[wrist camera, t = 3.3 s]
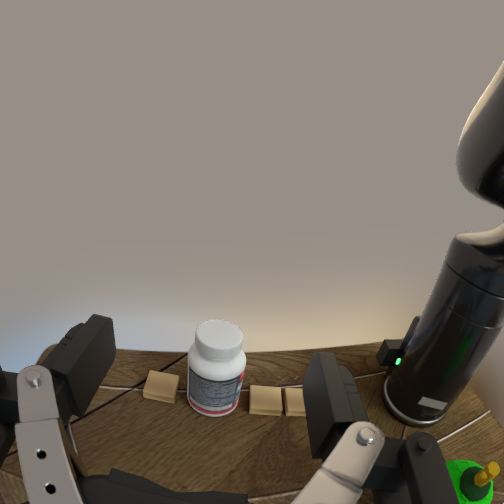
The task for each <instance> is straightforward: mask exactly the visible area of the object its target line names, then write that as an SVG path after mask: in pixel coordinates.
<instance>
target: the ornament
mask: <svg viewBox="0 0 504 504" xmlns="http://www.w3.org/2000/svg"><path fill="white" fill-rule="evenodd" d="M445 463H446V465H447V468H448V471H449V474H450V476H451V479H452V482H453V485H454V488H455V491H456V494H457V497H458V500H459V503H460V504H490V501H492V498H493V482H492V479H493V478H495V477H496V476H497V475H498V473H499V471H500V468H499V465H498V463H495V462H490V463H489V464H488V465H487V466H486V467H485V468H484V467H481V466H480V465H478V464H477V463H476V462H473V461H467V460H455V461H449V462H445Z"/></svg>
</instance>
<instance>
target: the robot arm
mask: <svg viewBox="0 0 504 504" xmlns="http://www.w3.org/2000/svg"><path fill="white" fill-rule="evenodd" d="M456 167H457V173H458V176H459V180H460V182H461V183H462V185H463V187H464V188H465V189H466V190H467V191H468V192H470V193H471V194H472V195H474V196H475V197H477V198H479V199H481V200H482V201H484V202H487V203H489V204H491V205H494V206H496V207H498V208H500V209H503V210H504V62H503V63H502V65H501V66H500V68H499V70H498V71H497V73H496V75H495V76H494V78H493V79H492V81H491V83H490V84H489V86H488V87H487V89H486V90H485V92H484V93H483V95H482V96H481V98H480V99H479V101H478V102H477V104H476V106H475V107H474V109H473V110H472V112H471V114H470V116H469V118H468V120H467V122H466V124H465V126H464V129H463V131H462V134H461V137H460V141H459V144H458V149H457V156H456ZM503 326H504V221H503V222H502V223H501V224H500V225H499V226H497V227H495V228H492V229H490V230H486V231H480V232H462V233H458V234H456V235H455V236H454V237H453V239H452V241H451V243H450V245H449V248H448V251H447V254H446V256H445V260H444V263H443V265H442V268H441V270H440V273H439V276H438V279H437V281H436V283H435V286H434V288H433V291H432V293H431V295H430V298H429V300H428V302H427V304H426V307H425V309H424V311H423V313H422V315H421V316H416V317H415V318H414V319H413V321H412V323H411V325H410V328H409V330H408V332H407V334H406V336H405V338H404V340H388V339H387V340H384V341H383V343H382V345H381V347H380V349H379V351H378V353H377V355H376V358H377V360H378V362H379V364H380V366H389V368H388V370H387V371H386V373H385V375H384V377H385V380H386V381H385V383H384V385H383V387H382V397H383V401H384V403H385V405H386V407H387V408H388V410H389V411H390V412H391V413H392V414H393V415H394V416H395V417H396V418H397V419H399V420H400V421H402V422H403V423H405V424H408V425H411V426H414V427H429V426H432V425H434V424H436V423H437V422H439V421H440V419H441V418H442V417H443V416H444V415H445V413H446V412H447V410H448V409H449V407H450V406H451V405H452V404H453V402H454V401H455V400H456V399H457V397H458V396H459V395H460V393H461V392H462V391H463V389H464V388H465V387H466V385H467V384H468V382H469V381H470V380H471V378H472V377H473V375H474V374H475V372H476V371H477V369H478V368H479V366H480V365H481V363H482V362H483V360H484V358H485V357H486V355H487V354H488V352H489V350H490V349H491V347H492V345H493V344H494V342H495V340H496V338H497V337H498V335H499V333H500V331H501V330H502V328H503ZM115 354H116V346H115V338H114V329H113V321H112V319H111V318H109V317H105V316H101V315H97V314H93V315H92V316H91V317H90V318H89V319H88V321H87V322H86V323H85V324H84V323H80V324H78V325H76V326H75V327H73V328H71V329H70V330H69V331H68V333H67V334H66V335H65V337H64V338H62V340H61V341H60V342H59V344H57V346H56V347H55V348H54V349H53V350H52V352H51V353H50V354H49V355H48V356H47V358H46V359H45V360H44V361H43V363H42V364H41V365H31V366H28V367H26V368H24V369H23V370H21V371H20V373H12V372H6V371H2V368H1V366H0V468H1V466H2V464H3V462H4V460H5V458H6V456H7V454H8V452H9V450H10V448H11V446H12V444H13V442H14V440H15V438H16V442H17V449H18V455H19V460H20V466H21V471H22V476H23V480H24V484H25V488H26V492H27V496H28V500H29V501H27V502H24V503H22V504H253V503H249V502H248V495H246V494H234V493H224V492H216V491H208V492H185V493H178V492H174V491H171V490H169V489H167V488H164V487H162V486H160V485H158V484H156V483H154V482H152V481H150V480H148V479H146V478H144V477H140V476H137V475H133V474H130V473H126V472H123V471H120V470H117V469H114V468H111V471H110V474H109V475H91V476H89V475H88V473H87V471H86V469H85V467H84V465H83V462H82V460H81V457H80V454H79V451H78V448H77V445H76V441H75V438H74V435H73V431H72V428H71V424H70V421H69V419H70V418H71V416H72V414H73V415H75V416H78V417H81V418H82V417H83V415H84V414H85V412H86V410H87V408H88V406H89V404H90V402H91V401H92V399H93V397H94V395H95V393H96V391H97V390H98V388H99V386H100V384H101V382H102V381H103V379H104V377H105V375H106V374H107V372H108V370H109V368H110V367H111V365H112V363H113V361H114V358H115ZM302 393H303V400H304V406H305V413H306V419H307V426H308V432H309V439H310V446H311V453H312V459H320V458H322V461H323V465H322V466H321V467H320V468H319V470H318V471H317V472H316V473H315V475H314V476H313V477H312V479H311V480H310V481H309V482H308V484H307V485H306V486H305V487H304V489H303V490H302V491H301V492H300V493H299V495H298V496H297V497H296V498H295V499H294V500H293V502H292V503H291V504H356V503H357V501H358V499H359V498H360V496H361V494H362V492H363V490H364V488H370V489H372V493H373V498H374V504H460V503H459V500H458V497H457V494H456V491H455V488H454V485H453V482H452V479H451V476H450V474H449V471H448V468H447V465H446V463H445V460H444V458H443V455H442V452H441V450H440V447H439V445H438V443H437V441H436V440H435V438H434V437H432V436H431V435H429V434H427V433H424V432H415V433H412V434H411V435H410V436H409V437H408V438H407V439H406V440H402V439H396V438H390V437H386V436H384V434H383V432H382V431H381V429H380V428H379V427H377V426H376V425H374V424H372V423H370V422H369V420H368V417H367V414H366V411H365V408H364V405H363V402H362V400H361V397H360V394H359V391H358V388H357V386H356V383H355V380H354V377H353V375H352V373H351V372H350V371H349V370H348V369H347V368H346V367H345V366H338V363H337V360H336V357H335V354H334V353H330V352H317V351H315V352H314V353H313V355H312V358H311V361H310V364H309V367H308V370H307V372H306V375H305V378H304V381H303V388H302Z"/></svg>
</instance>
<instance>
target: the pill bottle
mask: <svg viewBox="0 0 504 504" xmlns="http://www.w3.org/2000/svg"><path fill="white" fill-rule="evenodd" d="M242 341H243V333H242V331H241V329H240V328H239V327H238V326H237V325H235V324H234V323H232V322H229V321H226V320H220V319H212V320H207V321H204V322H203V323H201V324H200V325H199V326H198V327H197V329H196V335H195V343H194V344H193V345H192V346H191V347H190V350H189V352H188V384H187V398H188V401H189V403H190V405H191V407H192V408H193V409H194V410H196V411H197V412H199V413H201V414H203V415H206V416H212V417H218V416H223V415H226V414H228V413H230V412H232V411H233V410H234V409H235V407H236V406H237V404H238V401H239V396H240V391H241V386H242V381H243V376H244V371H245V366H246V356H245V353H244V351H243V350H242Z"/></svg>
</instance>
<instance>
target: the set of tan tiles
mask: <svg viewBox="0 0 504 504" xmlns="http://www.w3.org/2000/svg"><path fill="white" fill-rule="evenodd" d="M178 385H179V376H178V375H173V374H167V373H162V372H157V371H152V370H150V372H149V375H148V378H147V380H146V383H145V386H144V389H143V397H144V398H148V399H153V400H158V401H163V402H168V403H174V402H175V398H176V394H177V389H178ZM283 395H284V405H285V414H286V416H306V413H305V406H304V400H303V393H302V389H300V388H285V390H284V393H283ZM282 411H283V409H282V399H281V388H280V387H268V386H256V385H250V389H249V414H259V415H276V416H281V413H282Z"/></svg>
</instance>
